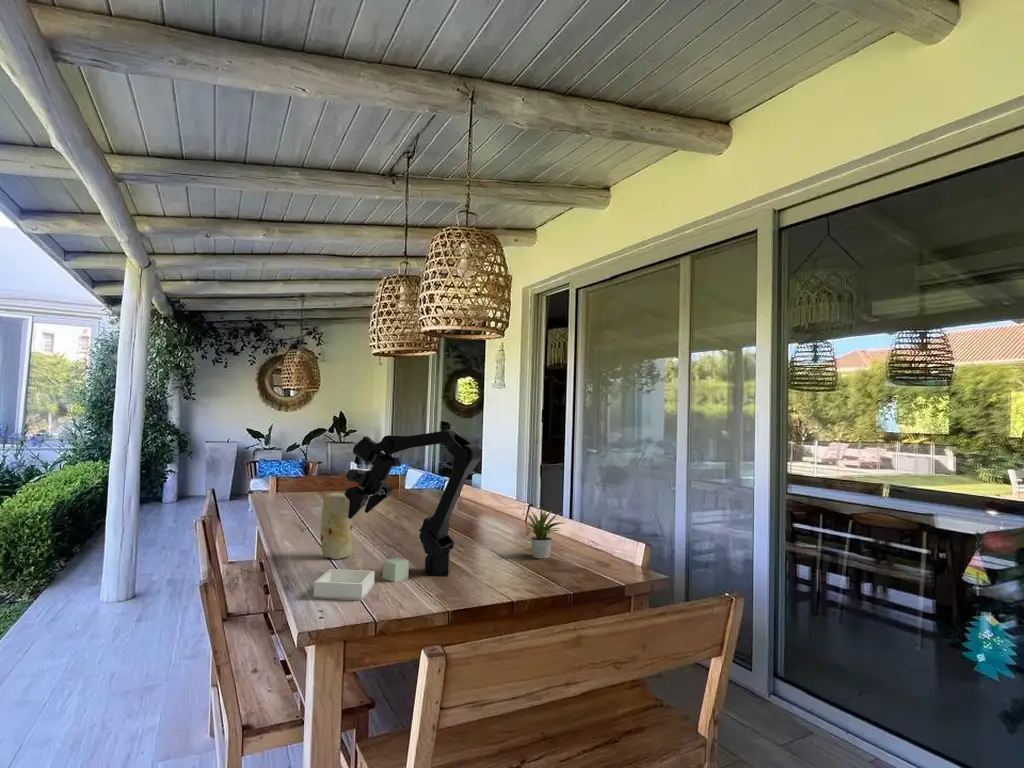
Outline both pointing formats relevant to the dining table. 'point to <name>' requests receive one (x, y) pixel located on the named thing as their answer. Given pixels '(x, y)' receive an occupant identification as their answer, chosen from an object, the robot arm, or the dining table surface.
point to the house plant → (541, 534)
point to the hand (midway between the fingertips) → (357, 515)
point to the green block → (395, 569)
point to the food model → (336, 526)
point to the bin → (344, 584)
